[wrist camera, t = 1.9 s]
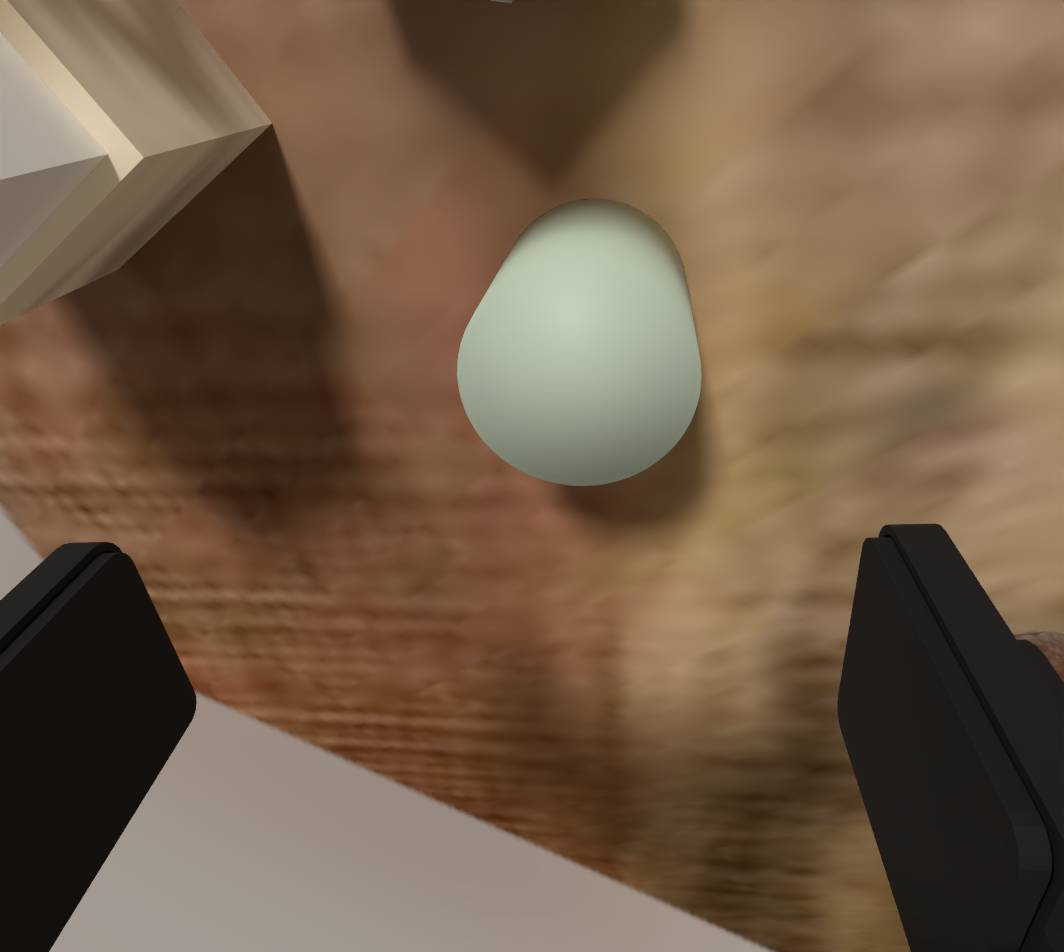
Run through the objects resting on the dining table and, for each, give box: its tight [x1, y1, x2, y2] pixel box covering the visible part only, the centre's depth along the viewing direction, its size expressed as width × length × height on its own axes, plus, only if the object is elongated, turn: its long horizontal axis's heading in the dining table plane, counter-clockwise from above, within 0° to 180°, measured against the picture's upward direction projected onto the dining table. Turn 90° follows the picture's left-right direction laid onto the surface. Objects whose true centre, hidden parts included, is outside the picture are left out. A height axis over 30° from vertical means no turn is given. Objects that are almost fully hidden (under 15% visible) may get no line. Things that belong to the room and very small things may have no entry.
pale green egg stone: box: [457, 199, 702, 486], centre depth 18 cm, size 5×5×6 cm
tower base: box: [0, 0, 272, 325], centre depth 17 cm, size 7×7×6 cm
